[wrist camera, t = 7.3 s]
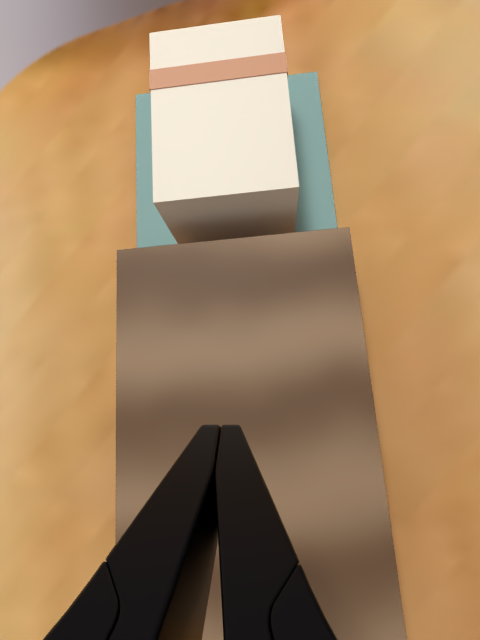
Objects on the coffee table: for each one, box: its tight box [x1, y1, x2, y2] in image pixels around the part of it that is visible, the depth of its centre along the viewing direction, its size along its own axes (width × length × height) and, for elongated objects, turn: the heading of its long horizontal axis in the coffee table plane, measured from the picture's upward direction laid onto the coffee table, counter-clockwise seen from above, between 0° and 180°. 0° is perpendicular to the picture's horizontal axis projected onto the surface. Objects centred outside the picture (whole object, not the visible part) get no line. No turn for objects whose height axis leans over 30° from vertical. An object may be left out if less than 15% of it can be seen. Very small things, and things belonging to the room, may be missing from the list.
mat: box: [136, 72, 337, 248], centre depth 26 cm, size 11×12×1 cm
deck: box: [116, 227, 407, 640], centre depth 20 cm, size 18×12×4 cm, turn 4°
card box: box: [149, 15, 299, 244], centre depth 23 cm, size 5×7×10 cm
